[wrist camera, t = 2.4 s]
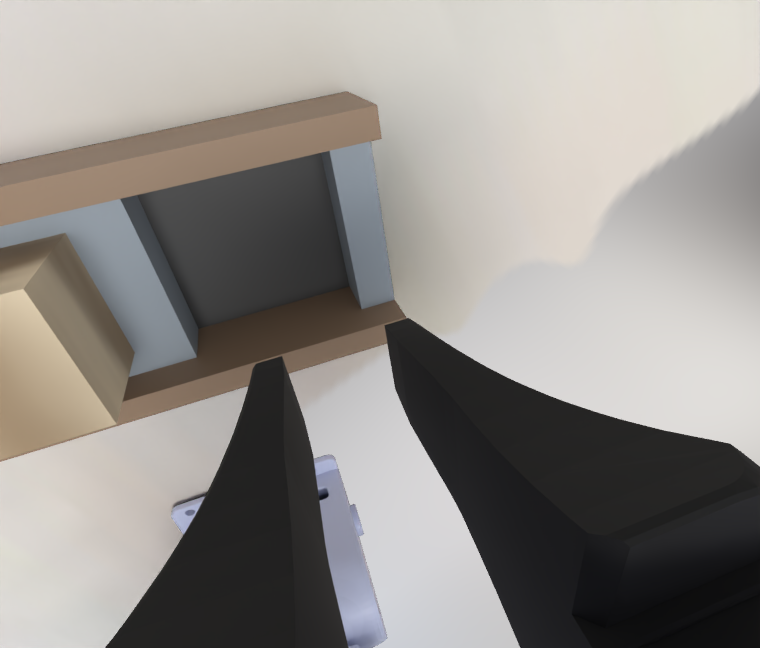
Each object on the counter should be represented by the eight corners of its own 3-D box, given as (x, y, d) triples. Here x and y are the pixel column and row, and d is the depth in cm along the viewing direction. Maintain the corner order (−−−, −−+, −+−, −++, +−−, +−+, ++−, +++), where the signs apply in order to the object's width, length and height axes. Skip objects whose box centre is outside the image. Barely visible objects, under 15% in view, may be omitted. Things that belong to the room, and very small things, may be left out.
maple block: (65, 232, 15) (23, 288, 12) (134, 352, 18) (116, 424, 14) (-108, 273, 14) (-205, 346, 11) (-6, 392, 17) (-58, 477, 14)
